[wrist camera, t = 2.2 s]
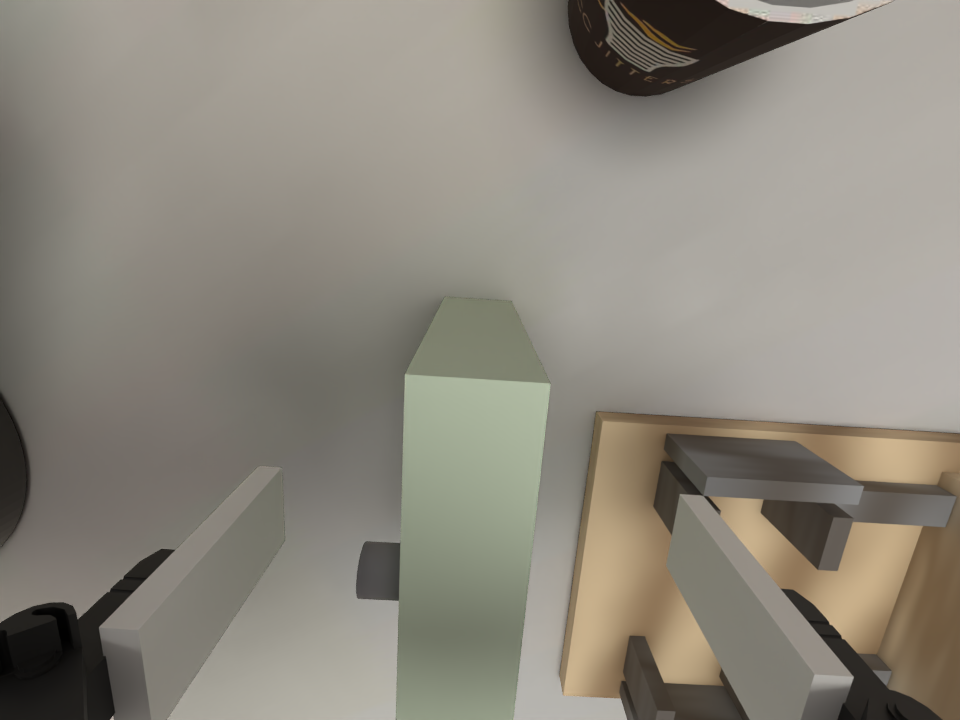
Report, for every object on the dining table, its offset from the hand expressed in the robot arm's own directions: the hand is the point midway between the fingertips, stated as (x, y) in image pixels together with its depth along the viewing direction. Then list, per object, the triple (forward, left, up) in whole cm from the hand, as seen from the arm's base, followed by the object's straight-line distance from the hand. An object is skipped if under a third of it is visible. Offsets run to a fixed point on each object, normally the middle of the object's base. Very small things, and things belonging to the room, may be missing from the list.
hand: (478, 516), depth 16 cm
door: (0, 0, -8) cm, 8 cm away
